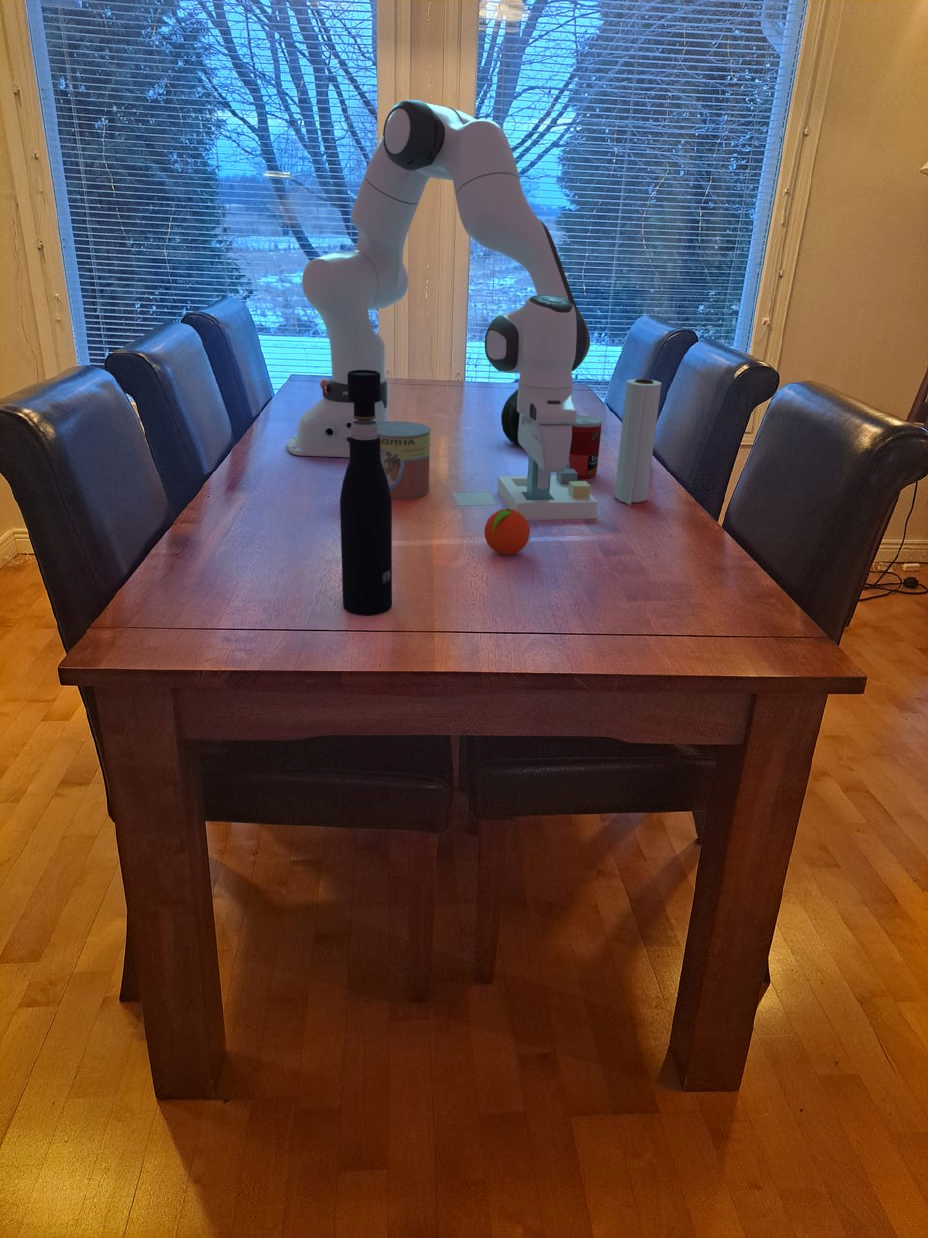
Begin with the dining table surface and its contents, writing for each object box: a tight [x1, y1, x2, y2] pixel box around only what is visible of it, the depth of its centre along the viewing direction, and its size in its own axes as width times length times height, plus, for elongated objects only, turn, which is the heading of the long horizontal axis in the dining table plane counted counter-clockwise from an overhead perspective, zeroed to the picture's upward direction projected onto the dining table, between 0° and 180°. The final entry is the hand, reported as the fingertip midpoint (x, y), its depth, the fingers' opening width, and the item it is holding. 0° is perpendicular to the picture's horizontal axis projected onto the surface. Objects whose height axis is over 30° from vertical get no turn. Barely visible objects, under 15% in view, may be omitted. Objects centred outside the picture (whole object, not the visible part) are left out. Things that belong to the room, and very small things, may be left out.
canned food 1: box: [377, 420, 431, 501], centre depth 159 cm, size 11×11×12 cm
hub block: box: [496, 469, 599, 521], centre depth 155 cm, size 14×16×6 cm
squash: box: [500, 388, 520, 445], centre depth 196 cm, size 14×15×15 cm
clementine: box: [483, 508, 531, 556], centre depth 133 cm, size 8×7×7 cm
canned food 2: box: [566, 414, 603, 480], centre depth 175 cm, size 8×8×11 cm
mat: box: [451, 492, 498, 507], centre depth 158 cm, size 7×7×1 cm
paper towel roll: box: [614, 378, 662, 506], centre depth 158 cm, size 7×6×21 cm
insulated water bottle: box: [339, 370, 393, 616], centre depth 110 cm, size 6×6×30 cm
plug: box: [526, 455, 552, 500], centre depth 150 cm, size 3×3×10 cm
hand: (538, 483), depth 150 cm, fingers closed on plug, 3 cm apart
